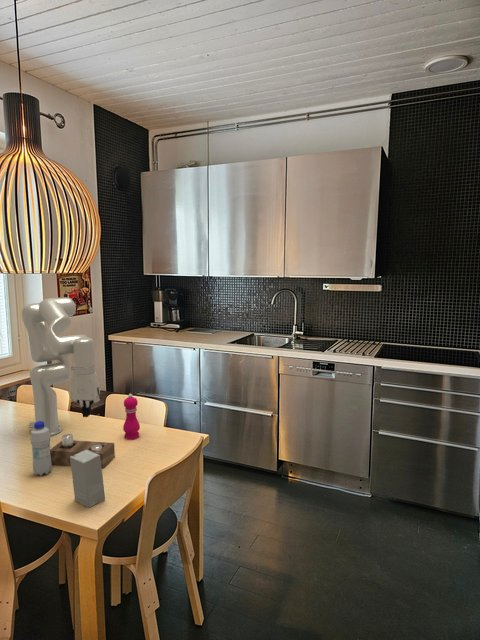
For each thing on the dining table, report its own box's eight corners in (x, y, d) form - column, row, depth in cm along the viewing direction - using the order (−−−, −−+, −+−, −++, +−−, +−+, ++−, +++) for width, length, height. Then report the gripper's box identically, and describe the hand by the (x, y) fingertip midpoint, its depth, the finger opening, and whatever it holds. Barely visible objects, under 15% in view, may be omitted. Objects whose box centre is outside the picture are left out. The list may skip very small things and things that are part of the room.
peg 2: (90, 463, 163) (89, 448, 162) (94, 458, 167) (94, 444, 166) (99, 463, 162) (99, 449, 162) (104, 459, 166) (103, 444, 166)
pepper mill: (142, 434, 192) (140, 391, 189) (136, 440, 185) (135, 396, 182) (127, 433, 193) (125, 391, 190) (121, 439, 186) (119, 396, 183)
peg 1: (60, 452, 164) (59, 437, 163) (66, 448, 168) (65, 433, 167) (70, 453, 164) (69, 438, 163) (75, 448, 168) (74, 434, 167)
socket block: (49, 465, 162) (48, 450, 161) (64, 453, 172) (63, 439, 171) (103, 468, 159) (102, 453, 158) (114, 457, 169) (114, 442, 168)
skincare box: (105, 500, 138) (103, 454, 136) (86, 510, 132) (83, 462, 130) (90, 491, 143) (88, 447, 141) (71, 500, 138) (68, 455, 136)
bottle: (39, 479, 152) (36, 426, 149) (29, 474, 155) (25, 422, 152) (56, 471, 157) (53, 420, 155) (45, 467, 161) (42, 416, 158)
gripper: (60, 371, 158) (63, 418, 160) (98, 373, 156) (100, 420, 158) (71, 366, 165) (73, 411, 167) (107, 368, 163) (109, 413, 166)
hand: (86, 415), depth 163 cm, fingers closed
